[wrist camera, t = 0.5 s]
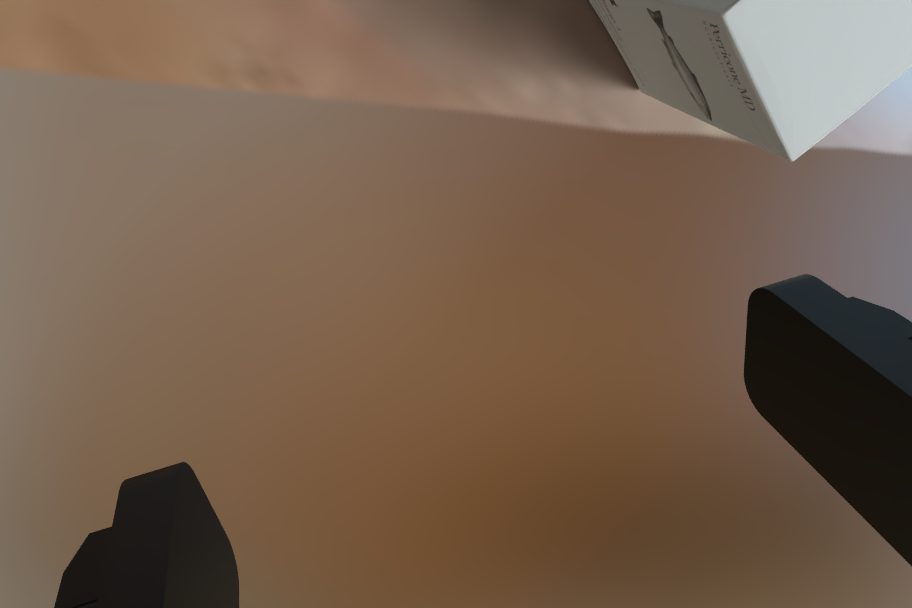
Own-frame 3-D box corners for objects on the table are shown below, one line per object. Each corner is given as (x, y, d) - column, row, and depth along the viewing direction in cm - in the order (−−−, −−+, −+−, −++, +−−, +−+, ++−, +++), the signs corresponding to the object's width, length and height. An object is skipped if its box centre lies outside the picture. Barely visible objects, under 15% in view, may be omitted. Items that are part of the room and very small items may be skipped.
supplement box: (569, -21, 35) (717, 9, 24) (693, -127, 34) (903, -145, 23) (637, 97, 38) (791, 168, 28) (750, 4, 38) (952, 41, 27)
